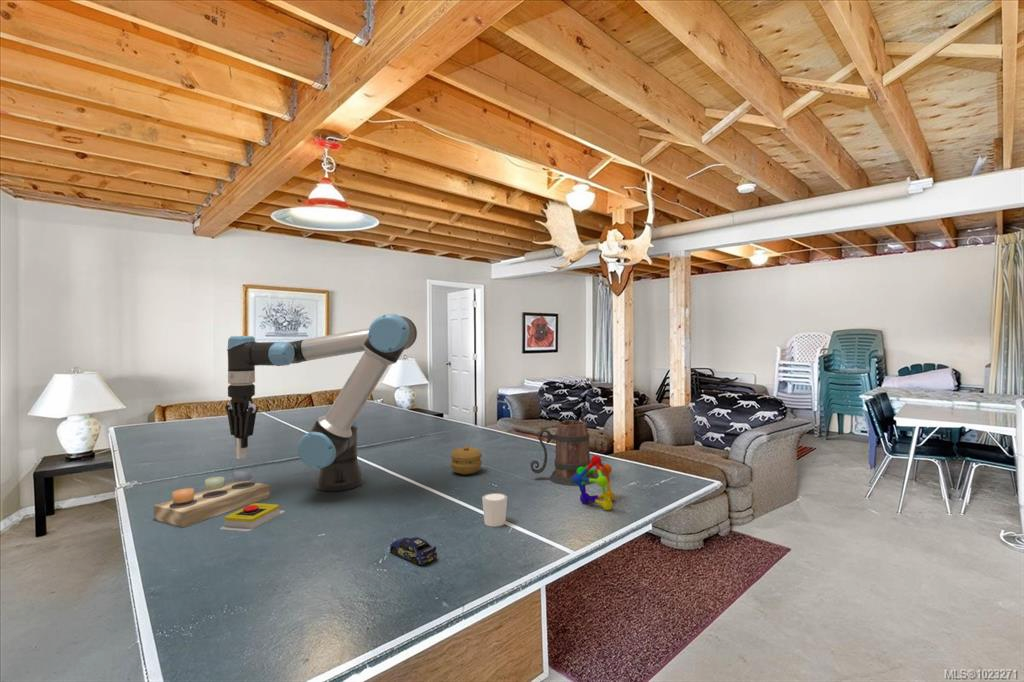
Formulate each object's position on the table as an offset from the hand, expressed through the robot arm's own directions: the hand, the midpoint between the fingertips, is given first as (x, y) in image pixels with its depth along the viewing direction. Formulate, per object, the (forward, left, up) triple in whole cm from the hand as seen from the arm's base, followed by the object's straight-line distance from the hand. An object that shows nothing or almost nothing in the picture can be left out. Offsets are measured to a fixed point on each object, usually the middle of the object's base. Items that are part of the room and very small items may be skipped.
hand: (241, 457), depth 150 cm
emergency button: (-20, +10, -14) cm, 26 cm away
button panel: (0, +9, -13) cm, 16 cm away
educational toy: (-104, -39, -13) cm, 112 cm away
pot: (-51, -53, -13) cm, 75 cm away
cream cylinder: (-83, -15, -13) cm, 86 cm away
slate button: (0, 0, -7) cm, 7 cm away
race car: (-74, +10, -14) cm, 76 cm away
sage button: (0, +9, -7) cm, 11 cm away
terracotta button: (0, +18, -8) cm, 19 cm away
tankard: (-87, -60, -13) cm, 107 cm away
